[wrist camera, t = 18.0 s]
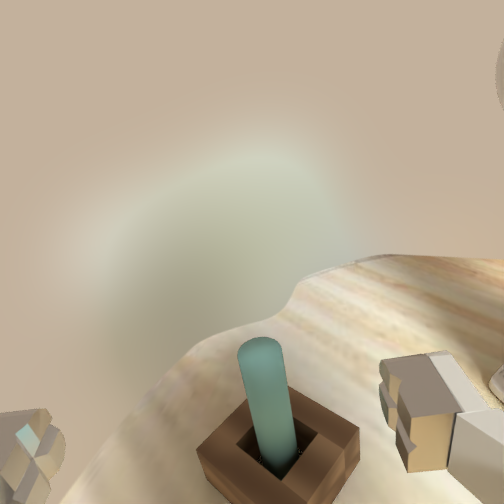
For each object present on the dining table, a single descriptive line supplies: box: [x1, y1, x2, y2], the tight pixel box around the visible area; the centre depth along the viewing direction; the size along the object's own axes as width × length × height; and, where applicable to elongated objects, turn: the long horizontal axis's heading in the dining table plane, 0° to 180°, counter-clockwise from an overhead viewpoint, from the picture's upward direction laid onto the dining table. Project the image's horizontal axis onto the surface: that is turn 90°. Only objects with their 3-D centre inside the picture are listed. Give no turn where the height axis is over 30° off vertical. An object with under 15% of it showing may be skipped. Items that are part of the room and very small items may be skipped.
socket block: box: [196, 386, 360, 504], centre depth 36 cm, size 11×11×5 cm
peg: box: [237, 337, 299, 481], centre depth 34 cm, size 4×4×16 cm
